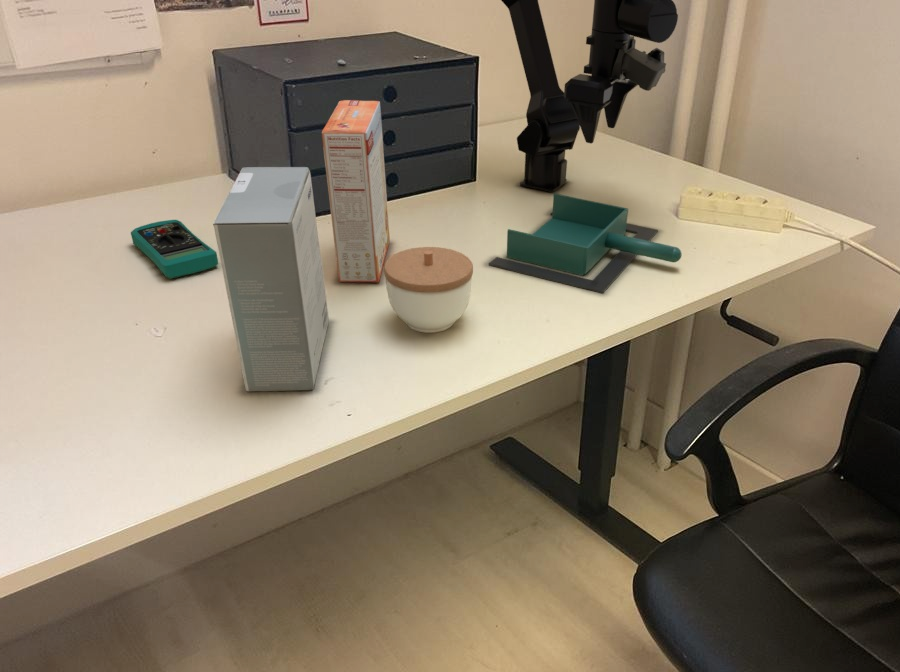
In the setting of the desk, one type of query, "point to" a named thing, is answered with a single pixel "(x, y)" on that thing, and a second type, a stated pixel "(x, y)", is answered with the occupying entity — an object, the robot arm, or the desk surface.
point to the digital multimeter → (174, 248)
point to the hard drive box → (274, 277)
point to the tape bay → (596, 284)
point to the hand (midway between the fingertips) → (600, 135)
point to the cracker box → (357, 189)
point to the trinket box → (429, 287)
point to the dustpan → (581, 237)
